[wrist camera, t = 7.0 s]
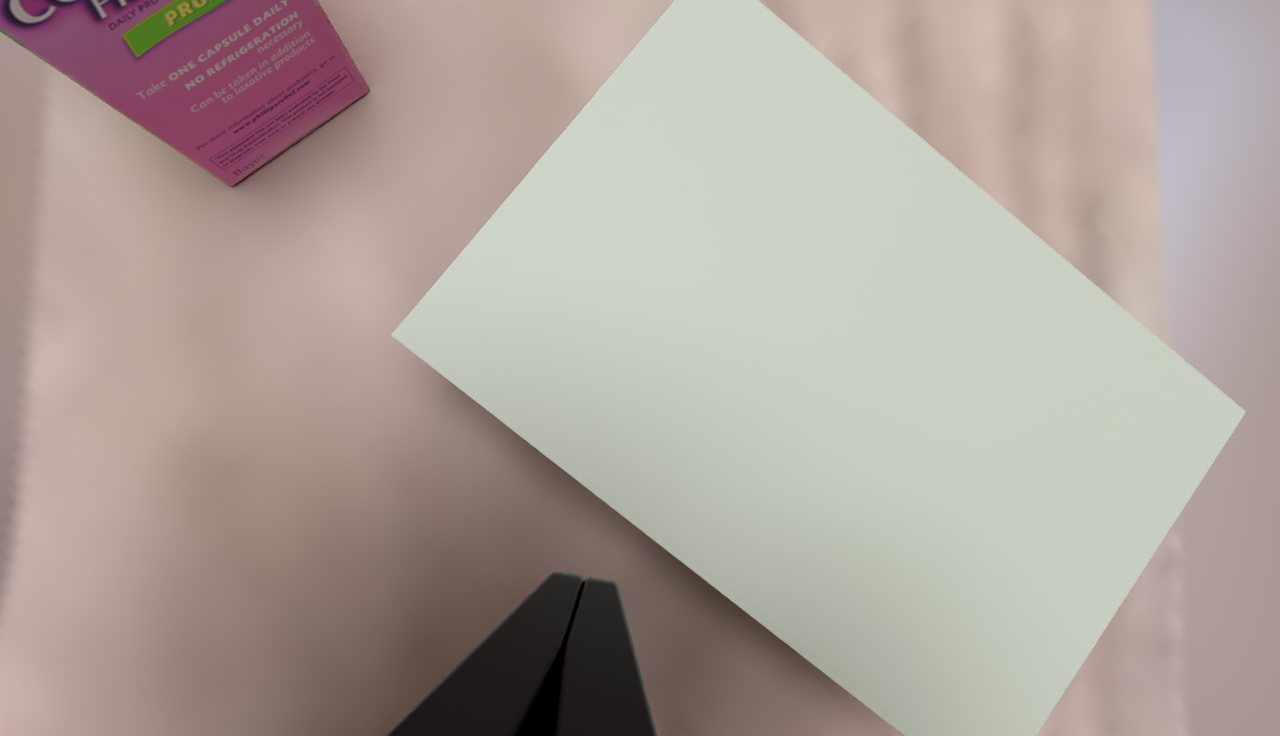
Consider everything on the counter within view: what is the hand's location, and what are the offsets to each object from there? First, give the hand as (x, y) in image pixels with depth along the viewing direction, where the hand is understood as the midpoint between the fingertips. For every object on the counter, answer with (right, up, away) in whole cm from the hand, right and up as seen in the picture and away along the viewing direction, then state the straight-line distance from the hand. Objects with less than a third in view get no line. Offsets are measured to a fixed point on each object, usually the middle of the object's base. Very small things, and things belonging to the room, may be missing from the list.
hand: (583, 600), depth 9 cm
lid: (+6, +3, +9) cm, 11 cm away
